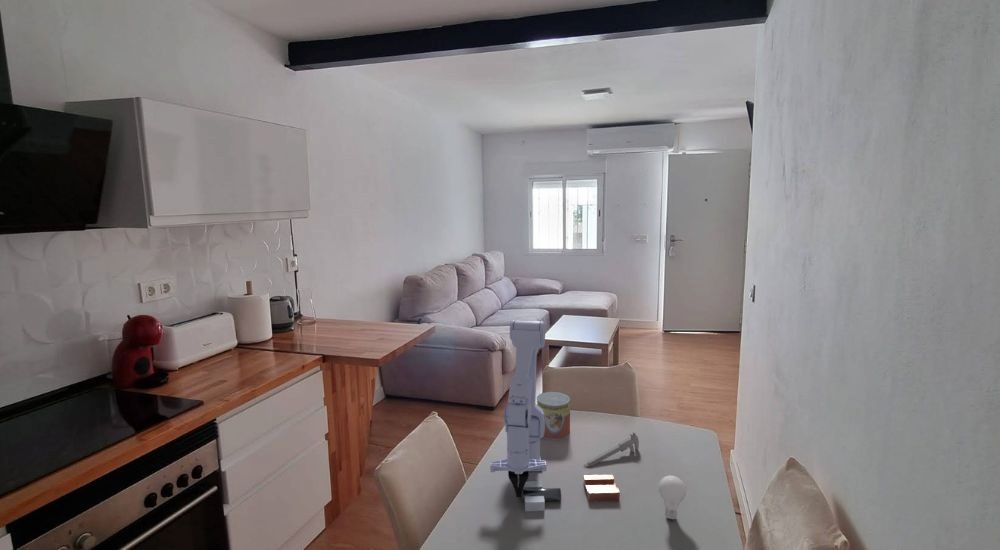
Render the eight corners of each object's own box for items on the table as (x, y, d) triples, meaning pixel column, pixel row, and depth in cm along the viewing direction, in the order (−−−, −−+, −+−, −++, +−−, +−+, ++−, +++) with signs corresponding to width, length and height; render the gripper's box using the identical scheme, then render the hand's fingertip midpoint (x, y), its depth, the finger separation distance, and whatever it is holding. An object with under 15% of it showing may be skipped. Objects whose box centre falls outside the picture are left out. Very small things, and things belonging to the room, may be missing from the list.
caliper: (636, 449, 152) (636, 431, 151) (638, 451, 151) (639, 432, 150) (583, 466, 143) (584, 447, 142) (586, 468, 142) (586, 449, 141)
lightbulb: (662, 506, 123) (664, 467, 122) (688, 516, 119) (690, 476, 118) (653, 519, 119) (655, 478, 117) (679, 530, 115) (681, 488, 113)
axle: (523, 503, 125) (522, 492, 125) (522, 497, 128) (522, 486, 128) (561, 502, 125) (561, 491, 125) (559, 497, 128) (559, 486, 128)
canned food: (537, 439, 158) (537, 405, 156) (536, 423, 169) (536, 391, 167) (571, 439, 158) (572, 405, 156) (568, 423, 169) (568, 391, 167)
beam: (523, 489, 131) (523, 481, 131) (541, 489, 131) (541, 481, 131) (525, 511, 122) (525, 502, 122) (544, 511, 122) (544, 502, 122)
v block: (583, 483, 134) (583, 475, 133) (612, 483, 134) (612, 474, 133) (589, 501, 126) (589, 492, 126) (619, 501, 126) (619, 492, 126)
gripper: (489, 456, 120) (490, 505, 123) (547, 455, 120) (547, 504, 123) (490, 441, 127) (491, 488, 130) (544, 440, 127) (544, 487, 130)
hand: (518, 495), depth 127 cm, fingers closed
